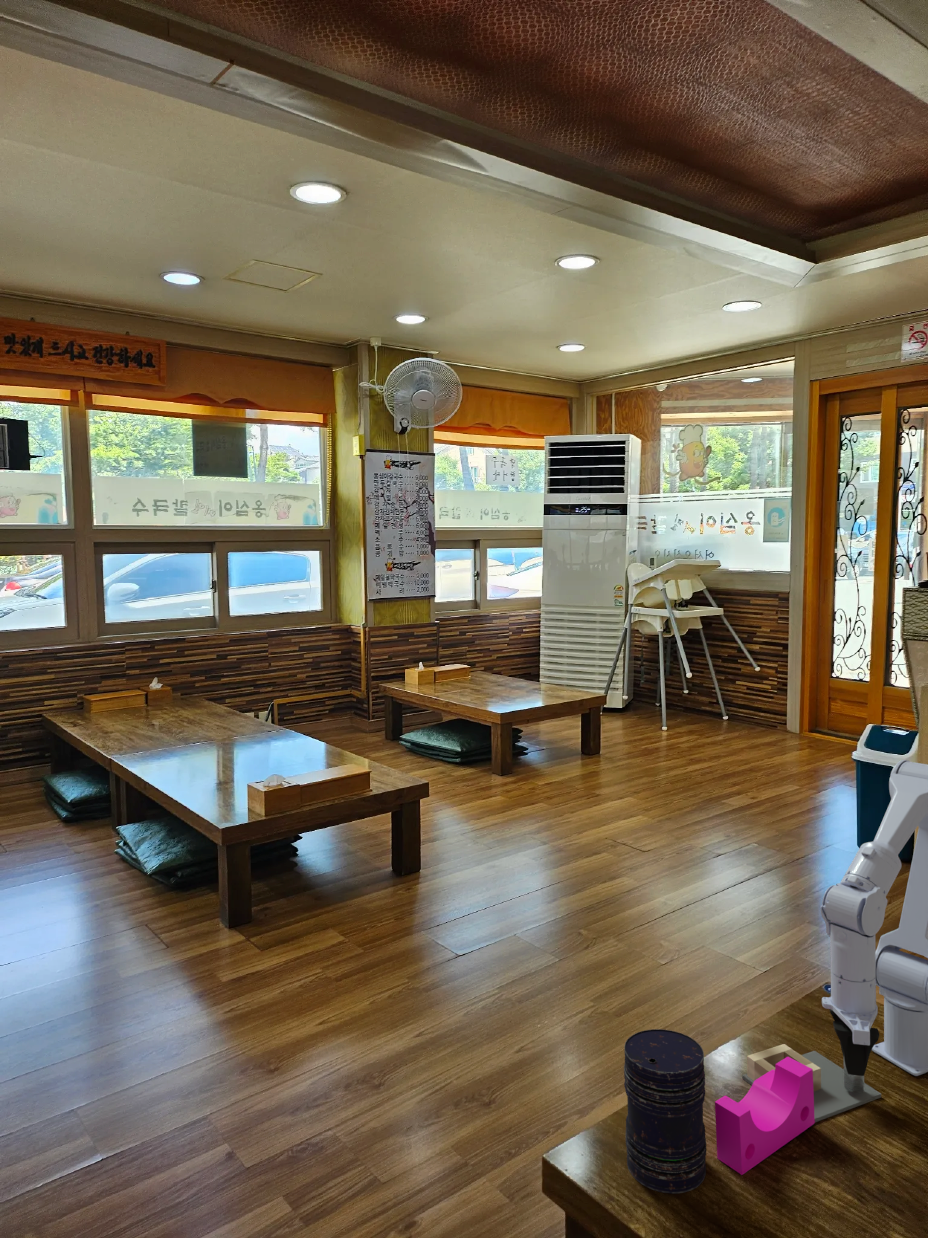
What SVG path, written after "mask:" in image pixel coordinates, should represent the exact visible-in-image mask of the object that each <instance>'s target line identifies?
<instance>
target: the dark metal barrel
mask: <svg viewBox="0 0 928 1238" xmlns="http://www.w3.org/2000/svg"><path fill="white" fill-rule="evenodd" d="M704 1061H705V1053H704V1049H703V1047H702V1046H701V1045H700V1043H698V1042H697V1040H695V1039H694V1038H693V1037H690V1036H689V1035H686V1034H684V1033H682V1032H679V1031H674V1030H671V1029H669V1030H668V1029H661V1028H659V1029H658V1028H655V1029H654V1028H653V1029H651V1028H650V1029H646V1030H641V1031H638V1032H635V1033H633V1034H631V1036H629V1037H628V1038H627V1039H626V1041H625V1042H624V1065H623V1073H624V1075H623V1077H624V1082H623V1083H624V1085H623V1086H624V1090H625V1094H626V1097H627V1115H626V1118H625V1146H626V1164H627V1169H628V1171H629V1173H630V1174H631V1176H632V1177H633V1178H634V1179H635V1181H637V1182H639V1184H641V1185H643V1186H644V1187H646V1188H648V1189H650V1190H653V1191H654V1192H655V1191H656V1192H659V1193H664V1194H683V1193H686V1192H690V1191H693V1190H695V1189H697V1188H698V1187H699V1186H700V1185H701V1184H702V1183H703V1182H704V1181H705V1177H706V1175H707V1174H706V1173H707V1169H706V1168H707V1167H706V1160H707V1157H706V1156H707V1139H706V1126H705V1124H704V1123H705V1122H704V1102H705V1098H706V1073H705V1064H704V1063H705V1062H704Z"/></svg>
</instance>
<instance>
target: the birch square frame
mask: <svg viewBox="0 0 928 1238" xmlns="http://www.w3.org/2000/svg"><path fill="white" fill-rule="evenodd" d="M802 1055H803V1054H800V1053H799V1052H797V1051H795V1050H794V1049H793V1048H791V1047H789V1046H788V1045H787V1044H785V1043H783V1044H780V1045H779V1044H778V1045H776V1046H774V1047H770V1048H767V1049H764V1050H761V1051H758V1052H755V1053H751V1054H749V1055H746V1067H747V1068H746V1070H747V1071H746V1074H747V1076H748V1077H750V1078H751V1079H752V1080H753V1081H755V1080H756V1079H758V1078H760V1077H761V1076H763V1075H764V1074H766V1073H768V1072H769V1071H771V1070H772V1069H773V1070H775V1064H776V1063H778V1062H780V1061H781V1060H783V1059H785V1058H786V1057H790V1058H792V1059H794V1060H796V1061H798V1062H800V1063H802V1064H803V1065H805V1066H807V1067H809V1068H811V1069H813V1092H814V1091H817V1090H819V1089H821V1068H820V1067H818V1066H817V1065H815V1064H814V1063H812V1062H811V1061H809V1060H808V1059H806V1058H805V1057H803V1056H802Z"/></svg>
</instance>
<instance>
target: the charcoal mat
mask: <svg viewBox="0 0 928 1238" xmlns="http://www.w3.org/2000/svg"><path fill="white" fill-rule="evenodd" d="M801 1055H802V1056H803V1057H805V1058H806V1059H808V1060H809V1061H811V1062H812V1063H814V1064H815V1065H817V1066H818V1067H820V1068H821V1089H819V1090H817V1091H814V1119H815V1123H818V1122H820V1121H822V1120H825V1119H828V1118H831V1117H834V1116H836V1115H839V1114H841V1113H843V1112H847V1111H849V1110H851V1109H854V1108H856V1107H859V1106H862V1105H865V1104H867V1103H870V1102H873V1101H875V1100H877V1099H880V1098H882V1093H881V1092H879V1091H877V1090H876V1088H873V1087H872V1086H870V1085H869V1084H867V1083H865V1082H864V1091H863V1092H861V1093H853V1092H850V1091H848V1090H847V1089H845V1087H844V1068H842V1067H841V1066H839V1065H838V1064H836V1063H834V1062H833V1061H832V1060H830V1059H828V1058H827V1057H825V1056H823V1054H821V1053H819V1052H818V1051H816V1050H812V1051H809V1052H807V1053H806V1052H805V1053H803V1054H801ZM741 1077H742V1079H743V1080H744V1081H745V1082H746V1083H748V1084H749V1085H751V1086H752V1084H753V1082H754V1081H753V1080H752V1079H751V1078H750V1077H748V1076H747V1073H743V1074H742V1075H741Z"/></svg>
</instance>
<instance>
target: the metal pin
mask: <svg viewBox="0 0 928 1238" xmlns="http://www.w3.org/2000/svg"><path fill="white" fill-rule="evenodd" d="M843 1069H844V1087H845V1089H847V1090H848V1091H850V1092H853V1093H861V1092H863V1091H864V1083H865V1075H864V1076H858V1075H850V1074H848V1072H847V1069H846V1065H845V1061H844V1060H843Z"/></svg>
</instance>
